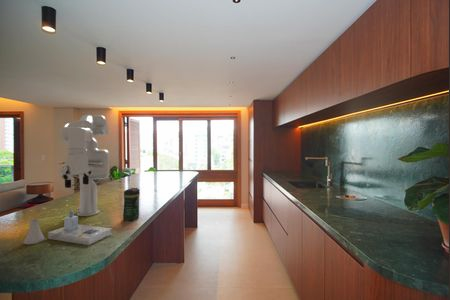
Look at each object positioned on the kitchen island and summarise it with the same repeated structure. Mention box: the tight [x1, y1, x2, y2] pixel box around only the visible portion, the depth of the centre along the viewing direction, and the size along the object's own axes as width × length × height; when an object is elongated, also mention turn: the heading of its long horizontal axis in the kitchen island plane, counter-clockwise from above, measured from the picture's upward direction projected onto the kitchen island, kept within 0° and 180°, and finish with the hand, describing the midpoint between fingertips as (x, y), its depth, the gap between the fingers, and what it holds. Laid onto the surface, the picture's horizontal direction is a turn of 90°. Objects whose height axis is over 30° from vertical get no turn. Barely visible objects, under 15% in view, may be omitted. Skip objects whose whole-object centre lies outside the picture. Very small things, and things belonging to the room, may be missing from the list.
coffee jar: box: [122, 187, 140, 222], centre depth 139 cm, size 10×8×19 cm
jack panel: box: [48, 223, 112, 246], centre depth 110 cm, size 24×13×4 cm, turn 74°
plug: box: [63, 210, 79, 231], centre depth 112 cm, size 5×4×12 cm
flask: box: [22, 218, 45, 246], centre depth 104 cm, size 7×7×10 cm
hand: (77, 185), depth 115 cm, fingers open, 9 cm apart
